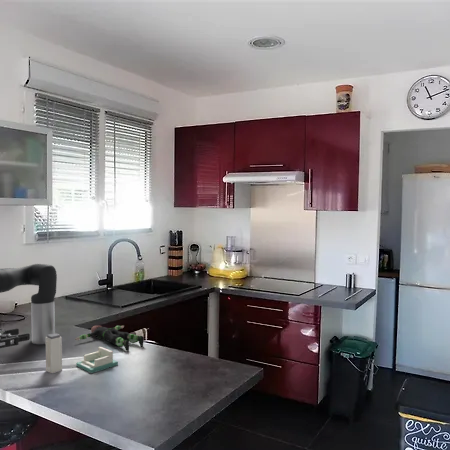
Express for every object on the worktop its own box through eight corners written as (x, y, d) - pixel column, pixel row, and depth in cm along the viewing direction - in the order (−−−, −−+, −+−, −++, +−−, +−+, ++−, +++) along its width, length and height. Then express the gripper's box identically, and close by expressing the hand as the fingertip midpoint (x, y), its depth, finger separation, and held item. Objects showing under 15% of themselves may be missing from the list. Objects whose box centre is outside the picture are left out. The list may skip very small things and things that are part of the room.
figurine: (158, 342, 192) (116, 331, 211) (158, 327, 192) (116, 318, 211) (108, 357, 173) (67, 344, 192) (108, 342, 172) (66, 330, 192)
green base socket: (76, 366, 163) (76, 352, 162) (102, 358, 171) (102, 345, 171) (91, 373, 156) (91, 358, 156) (117, 364, 164) (117, 350, 164)
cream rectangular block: (44, 371, 158) (43, 335, 157) (56, 367, 161) (56, 332, 161) (49, 373, 155) (49, 337, 155) (62, 370, 159) (61, 334, 158)
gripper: (-37, 350, 143) (15, 340, 154) (-22, 361, 133) (33, 349, 145) (-38, 327, 142) (15, 319, 154) (-22, 336, 133) (33, 326, 144)
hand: (23, 333), depth 149 cm, fingers open, 8 cm apart
